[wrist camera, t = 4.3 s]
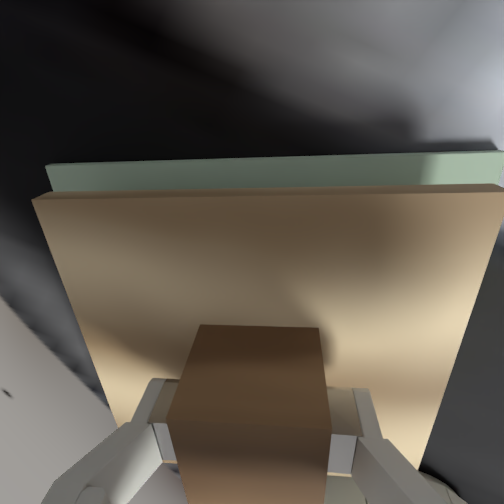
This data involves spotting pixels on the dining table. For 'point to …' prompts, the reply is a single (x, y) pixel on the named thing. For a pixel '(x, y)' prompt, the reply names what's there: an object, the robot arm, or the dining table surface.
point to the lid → (273, 315)
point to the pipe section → (352, 500)
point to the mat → (282, 171)
